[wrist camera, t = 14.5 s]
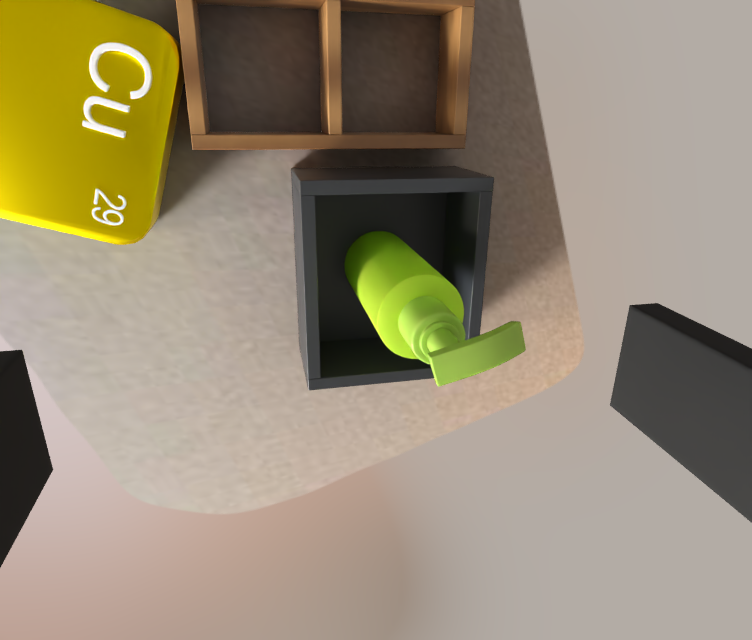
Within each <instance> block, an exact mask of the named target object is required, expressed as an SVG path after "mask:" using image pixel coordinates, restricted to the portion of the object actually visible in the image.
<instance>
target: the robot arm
mask: <svg viewBox="0 0 752 640" xmlns="http://www.w3.org/2000/svg"><path fill="white" fill-rule="evenodd" d="M610 406H612V407H613V408H614V409H615V410H616V411H618V412H619V413H620V414H621V415H622V416H624V417H625V418H626V419H627V420H628V421H630V422H631V423H632V424H633V425H635V426H636V427H637V428H638V429H639V430H641V431H642V432H643V433H644V434H645V435H647V436H648V437H649V438H650V439H651V440H653V441H654V442H655V443H656V444H657V445H659V446H660V447H661V448H662V449H664V450H665V451H666V452H667V453H668V454H670V455H671V456H672V457H673V458H674V459H676V460H677V461H678V462H679V463H680V464H682V465H683V466H684V467H685V468H686V469H688V470H689V471H690V472H691V473H692V474H694V475H695V476H696V477H697V478H699V479H700V480H701V481H702V482H703V483H705V484H706V485H707V486H708V487H709V488H711V489H712V490H713V491H714V492H715V493H717V494H718V495H719V496H720V497H721V498H723V499H724V500H725V501H726V502H728V503H729V504H730V505H731V506H732V507H734V508H735V509H736V510H737V511H738V512H740V513H741V514H742V515H743V516H744V517H746V518H747V519H748V520H749V521H750V522H752V349H751V348H749V347H747V346H745V345H743V344H741V343H739V342H737V341H735V340H733V339H731V338H728V337H726V336H724V335H722V334H720V333H718V332H716V331H714V330H712V329H710V328H708V327H706V326H704V325H702V324H699V323H697V322H695V321H693V320H691V319H689V318H687V317H685V316H683V315H681V314H678V313H676V312H674V311H672V310H670V309H668V308H666V307H664V306H662V305H660V304H658V303H655V304H641V305H630V307H629V312H628V317H627V323H626V327H625V332H624V337H623V342H622V347H621V352H620V357H619V363H618V368H617V373H616V378H615V383H614V388H613V393H612V398H611V403H610ZM52 471H53V468H52V464H51V460H50V456H49V453H48V448H47V444H46V441H45V437H44V433H43V429H42V425H41V421H40V417H39V414H38V410H37V406H36V402H35V398H34V394H33V390H32V387H31V382H30V379H29V375H28V371H27V367H26V363H25V359H24V355H23V351H22V350H14V351H1V352H0V567H1V565H2V564H3V562H4V560H5V558H6V556H7V554H8V552H9V550H10V549H11V547H12V545H13V543H14V541H15V539H16V538H17V536H18V534H19V532H20V530H21V528H22V526H23V525H24V523H25V521H26V519H27V517H28V515H29V513H30V511H31V510H32V508H33V506H34V504H35V502H36V500H37V499H38V497H39V495H40V493H41V491H42V489H43V487H44V486H45V484H46V482H47V480H48V478H49V476H50V474H51V473H52Z"/></svg>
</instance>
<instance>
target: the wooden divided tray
mask: <svg viewBox="0 0 752 640" xmlns="http://www.w3.org/2000/svg"><path fill="white" fill-rule="evenodd" d="M198 4H209V5H229V6H250V7H271V8H291V9H312V10H318V22H319V61H320V100H321V131H322V132H210V125H209V115H208V105H207V94H206V84H205V74H204V64H203V54H202V44H201V33H200V23H199V13H198ZM176 6H177V15H178V24H179V33H180V42H181V51H182V60H183V69H184V78H185V87H186V96H187V105H188V114H189V123H190V132H191V141H192V149H193V150H264V149H464V148H465V140H466V126H467V112H468V97H469V83H470V68H471V53H472V39H473V24H474V10H475V7H474V6H475V0H176ZM341 11H353V12H374V13H395V14H415V15H436V16H441V22H440V43H439V64H438V84H437V105H436V126H435V132H342V62H341Z"/></svg>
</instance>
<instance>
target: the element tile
mask: <svg viewBox="0 0 752 640" xmlns="http://www.w3.org/2000/svg"><path fill="white" fill-rule="evenodd" d="M183 83H184V69H183V60H182V51H181V46H180V44H179V43H178V41H177V40H176V39H175V38H174V37H173V36H172V35H171V34H169V33H168V32H167V31H166V30H165V29H163V28H162V27H161V26H160V25H158V24H156V23H155V22H153V21H150V20H147V19H144V18H142V17H139V16H136V15H133V14H130V13H128V12H125V11H122V10H119V9H116V8H114V7H111V6H108V5H105V4H102V3H99V2H97V1H94V0H0V218H5V219H9V220H13V221H18V222H22V223H26V224H31V225H35V226H39V227H44V228H48V229H52V230H57V231H61V232H65V233H70V234H74V235H78V236H82V237H87V238H91V239H95V240H100V241H104V242H108V243H113V244H117V245H125V244H133V243H136V242H138V241H139V240H141V239H143V238H144V237H145V235H146V234H147V233H148V232H149V230H150V229H151V228H152V227H153V225H154V224H155V222H156V221H157V219H158V216H159V213H160V207H161V202H162V196H163V191H164V186H165V180H166V175H167V169H168V164H169V159H170V153H171V148H172V142H173V137H174V132H175V126H176V121H177V115H178V110H179V104H180V99H181V94H182V88H183Z"/></svg>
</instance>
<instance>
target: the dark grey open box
mask: <svg viewBox="0 0 752 640" xmlns="http://www.w3.org/2000/svg"><path fill="white" fill-rule="evenodd" d="M291 174H292V196H293V217H294V239H295V260H296V282H297V303H298V325H299V346H300V353H301V357H302V362H303V367H304V371H305V376H306V381H307V386H308V390H317V389H327V388H338V387H348V386H358V385H369V384H379V383H389V382H400V381H410V380H420V379H431V378H434V375H433V372H432V368H431V365H430V364H427V363H424V362H422V361H421V360H419V359H410V358H405V357H402V356H399V355H397V354H395V353H394V352H392V351H391V350H390V349H389V348H388V347H387V346H386V345H385V344H384V343H383V341H382V339H381V338H380V336H379V334H378V332H377V331H376V329H375V327H374V325H373V323H372V322H371V320H370V318H369V316H368V315H367V313H366V311H365V309H364V308H363V306H362V304H361V302H360V301H359V299H358V297H357V295H356V293H355V292H354V290H353V288H352V286H351V285H350V283H349V281H348V279H347V277H346V274H345V267H344V264H345V258H346V254H347V252H348V250H349V248H350V247H351V245H352V244H353V243H354V242H355V241H356V240H357V239H358V238H359V237H361V236H362V235H364V234H367V233H369V232H374V231H385V232H389V233H392V234H394V235H396V236H397V237H399V238H400V239H401V240H402V241H403V242H405V243H406V244H407V245H408V246H409V247H410V248H411V249H412V250H414V251H415V252H416V253H417V254H418V255H419V256H420V257H422V258H423V259H424V260H425V261H426V262H427V263H428V264H430V265H431V266H432V267H433V268H434V269H435V270H436V271H438V272H439V273H440V274H441V275H442V276H443V277H444V278H445V279H447V280H448V281H449V282H450V283H451V284H452V285H453V286H454V287H455V288H456V289H457V291H458V292H459V294H460V296H461V298H462V301H463V306H464V318H463V323H462V324H463V326H464V329H465V340H468V339H471V338H474V337H476V336H479V335H480V327H481V316H482V304H483V293H484V282H485V271H486V260H487V248H488V237H489V226H490V215H491V204H492V191H493V183H494V177H491V176H487V175H484V174H480V173H477V172H474V171H470V170H467V169H463V168H460V167H456V166H426V167H343V168H291Z"/></svg>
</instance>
